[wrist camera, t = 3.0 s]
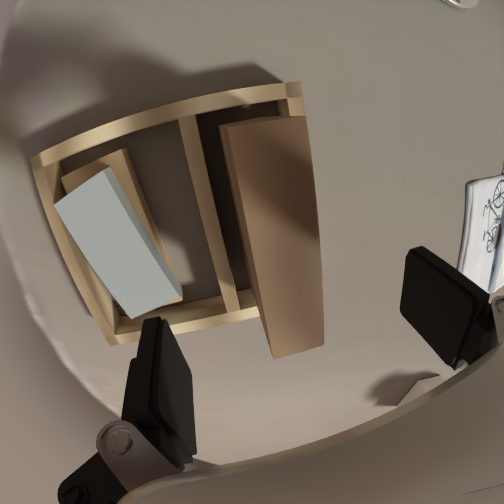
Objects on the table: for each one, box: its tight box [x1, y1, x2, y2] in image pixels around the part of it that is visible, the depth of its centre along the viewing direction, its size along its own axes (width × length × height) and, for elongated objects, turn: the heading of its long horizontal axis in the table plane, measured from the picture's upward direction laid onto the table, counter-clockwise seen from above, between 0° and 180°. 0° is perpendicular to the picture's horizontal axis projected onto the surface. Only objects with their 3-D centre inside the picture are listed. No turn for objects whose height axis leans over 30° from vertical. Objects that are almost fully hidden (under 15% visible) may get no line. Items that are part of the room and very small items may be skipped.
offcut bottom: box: [61, 147, 183, 314], centre depth 20 cm, size 5×12×2 cm, turn 14°
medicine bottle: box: [397, 375, 445, 408], centre depth 34 cm, size 7×7×12 cm
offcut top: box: [54, 166, 181, 319], centre depth 18 cm, size 4×10×2 cm, turn 23°
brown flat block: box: [217, 116, 324, 359], centre depth 17 cm, size 3×12×9 cm, turn 10°
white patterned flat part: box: [457, 170, 504, 293], centre depth 27 cm, size 19×20×2 cm
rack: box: [29, 81, 323, 345], centre depth 19 cm, size 18×16×2 cm
